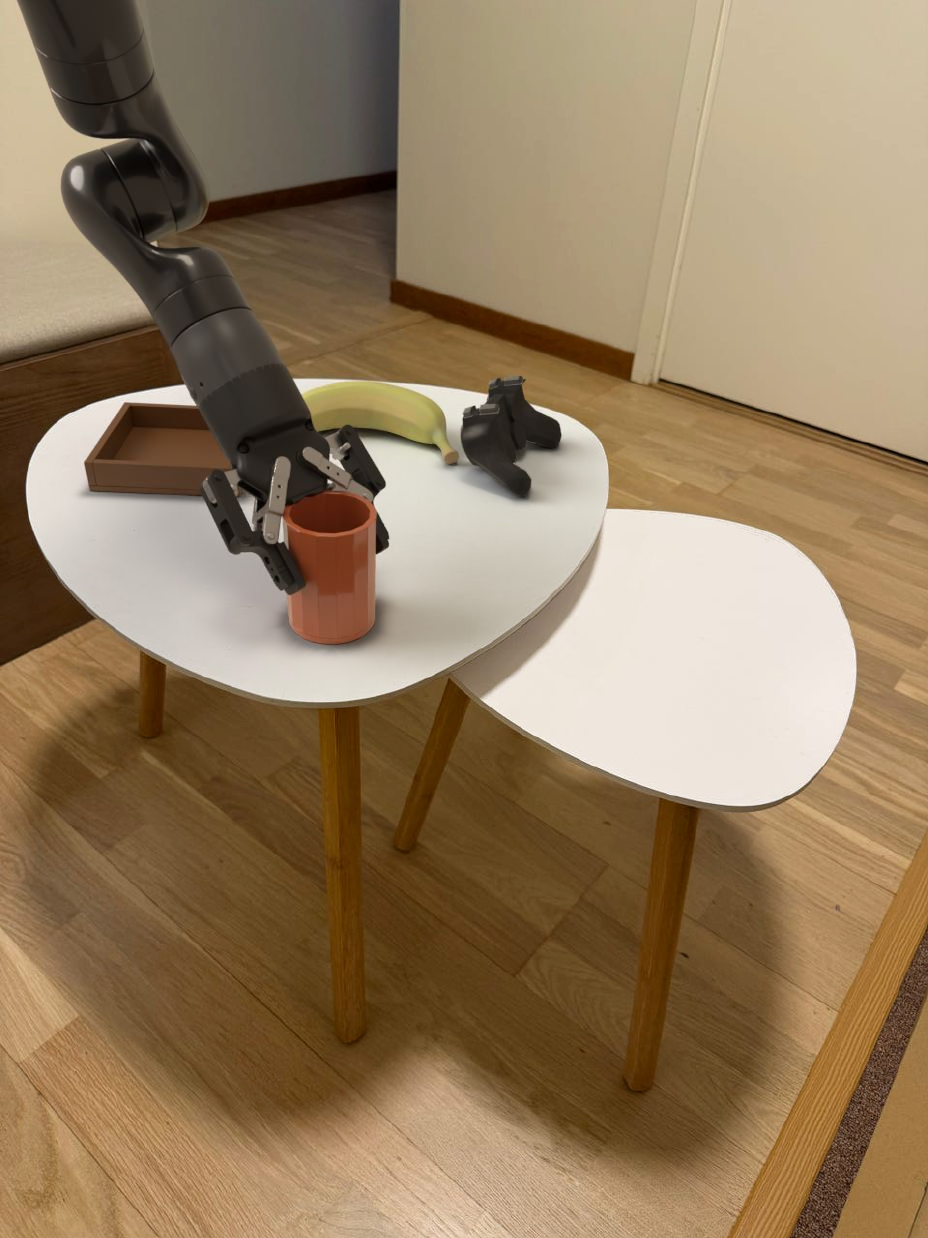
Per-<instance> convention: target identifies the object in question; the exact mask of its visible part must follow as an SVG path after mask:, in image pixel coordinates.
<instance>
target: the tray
mask: <svg viewBox="0 0 928 1238" xmlns="http://www.w3.org/2000/svg"><path fill="white" fill-rule="evenodd" d="M83 465H84V470H85V475H86V480H87V483H88V489H89V491H90V492H112V493H113V492H114V493H137V494H159V495H160V494H161V495H184V496H202V494H201V492H200V490H199V486H200V484H201V483H202V482H203V481H204V480H205V479H206V478H207V477H208V475H209V474H210V473H211V472H212V471H213V470H216V469H218V470H221V471H223V472H227V471H230V470H232V467H231V463H230V461H229V460H228V459H227V458H226V457H225V456H224V455H223V453H222V452H221V450H220V448H219V446H218V444H217V442H216V440H215V439H214V437H213V435H212V433H211V431H210V429H209V428H208V426H207V424H206V422H205V420H204V418H203V417H202V415H201V413H200V411H199V409H198V407H197V406H196V405H189V404H171V403H169V404H167V403H150V402H147V403H146V402H129V401H125V402H123V403H122V405H121V407H120V408H119V409H118V411H117V413H116V414H115V416H114V417H113V418H112V420H111V421H110V422H109V424H108V426H107V427H106V429H105V430H104V432H103V434H101V436H100V438H99V439H98V440H97V443H96V444H95V445H94V446H93V448H92V449H91V451H90V452H89V454H88V455H87V457H86V459H85V460H84V462H83ZM237 489H238V495H237V496H236V498H240V497H241V495H242V492H243V490H242V489H241V488H239V487H238V486H237Z"/></svg>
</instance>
